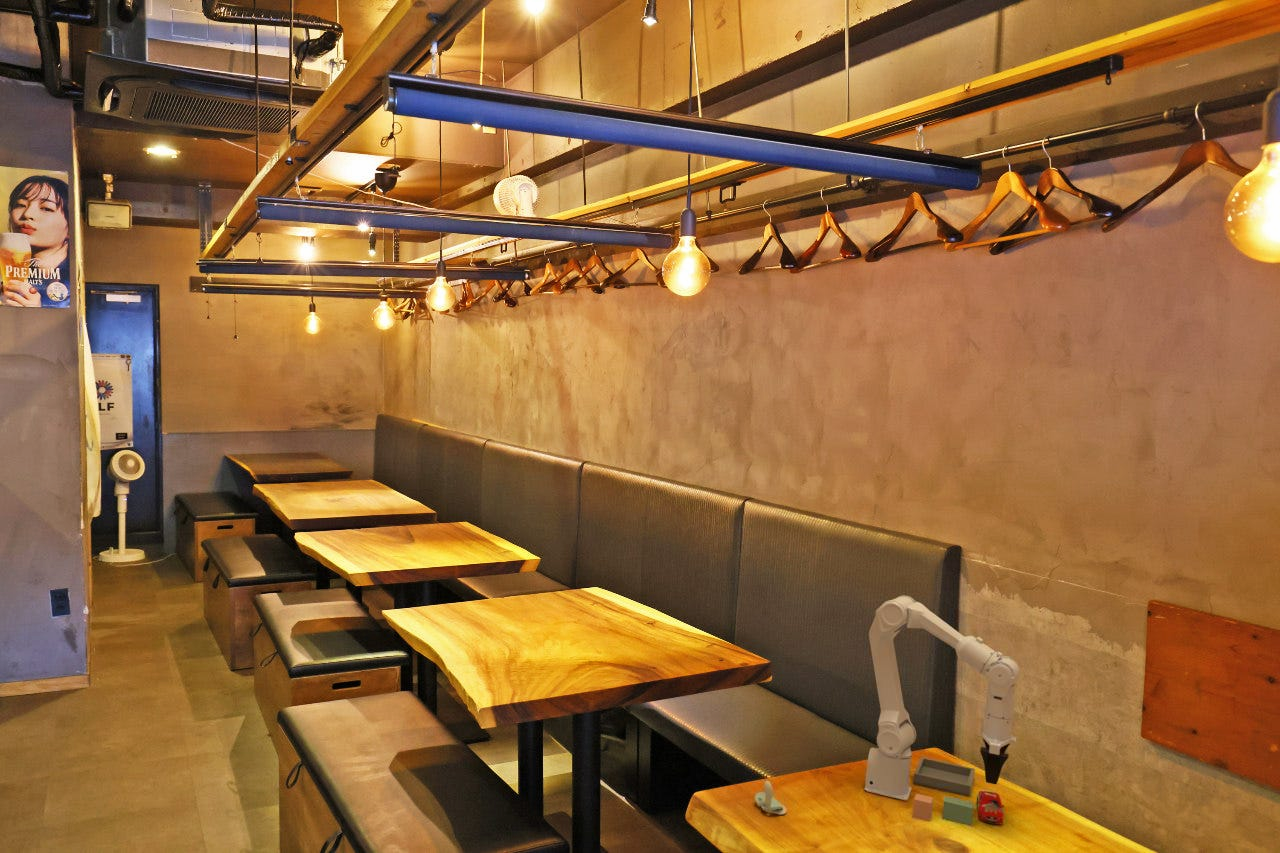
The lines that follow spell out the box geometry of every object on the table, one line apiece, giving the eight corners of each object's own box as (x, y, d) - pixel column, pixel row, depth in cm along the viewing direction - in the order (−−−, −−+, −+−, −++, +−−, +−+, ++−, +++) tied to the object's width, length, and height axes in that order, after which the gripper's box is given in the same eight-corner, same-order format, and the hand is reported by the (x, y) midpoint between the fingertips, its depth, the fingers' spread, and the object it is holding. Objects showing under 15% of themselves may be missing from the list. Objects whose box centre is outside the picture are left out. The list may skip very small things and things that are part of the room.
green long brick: (941, 819, 205) (943, 801, 205) (943, 813, 208) (945, 795, 208) (971, 826, 202) (973, 808, 202) (972, 820, 205) (974, 802, 205)
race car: (1004, 829, 203) (1005, 811, 203) (977, 823, 205) (978, 805, 204) (1001, 805, 215) (1003, 788, 215) (976, 800, 217) (977, 783, 217)
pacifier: (776, 802, 207) (751, 803, 205) (779, 774, 206) (754, 774, 204) (792, 817, 200) (766, 818, 198) (795, 788, 200) (770, 788, 198)
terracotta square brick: (912, 817, 204) (914, 799, 204) (914, 811, 207) (916, 793, 207) (929, 821, 203) (931, 803, 203) (931, 815, 206) (933, 797, 206)
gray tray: (912, 784, 223) (913, 773, 223) (920, 766, 235) (921, 756, 235) (969, 797, 218) (970, 786, 218) (973, 779, 230) (974, 768, 229)
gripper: (1017, 728, 197) (1010, 793, 197) (1019, 709, 210) (1013, 770, 211) (981, 721, 200) (975, 784, 200) (985, 703, 213) (979, 762, 213)
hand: (992, 777), depth 205 cm, fingers open, 7 cm apart
